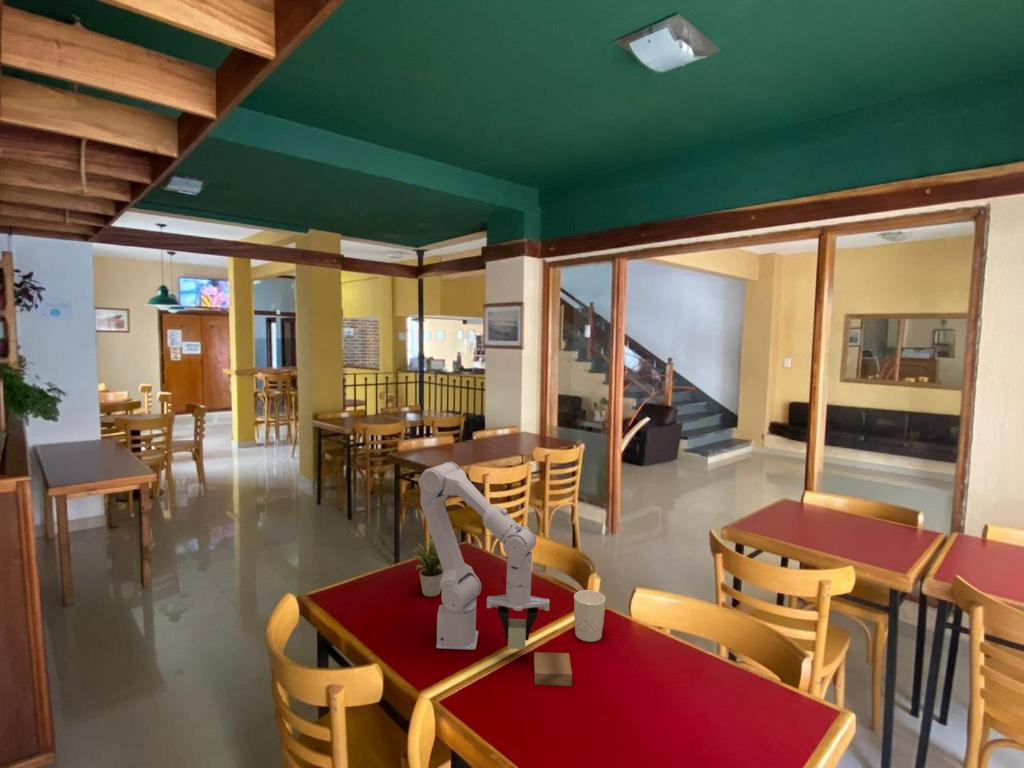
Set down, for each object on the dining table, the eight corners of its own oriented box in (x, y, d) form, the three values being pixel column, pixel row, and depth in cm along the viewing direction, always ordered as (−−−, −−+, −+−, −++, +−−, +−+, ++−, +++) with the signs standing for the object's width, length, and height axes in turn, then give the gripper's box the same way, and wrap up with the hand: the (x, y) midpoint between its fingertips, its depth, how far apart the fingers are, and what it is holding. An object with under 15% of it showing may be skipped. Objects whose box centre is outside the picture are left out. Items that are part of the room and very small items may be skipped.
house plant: (433, 610, 146) (434, 553, 145) (395, 598, 153) (396, 542, 152) (463, 590, 158) (464, 537, 157) (427, 580, 165) (427, 528, 164)
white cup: (603, 645, 131) (604, 606, 130) (571, 641, 133) (572, 602, 132) (604, 629, 139) (606, 591, 138) (574, 625, 140) (575, 588, 140)
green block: (507, 648, 123) (508, 627, 123) (508, 639, 127) (509, 618, 127) (525, 649, 123) (525, 628, 123) (525, 639, 127) (525, 619, 127)
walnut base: (534, 686, 115) (534, 673, 115) (533, 664, 123) (534, 652, 123) (571, 687, 115) (572, 674, 115) (568, 665, 123) (568, 653, 123)
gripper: (486, 587, 120) (484, 645, 121) (550, 590, 120) (548, 648, 121) (488, 574, 127) (487, 629, 128) (549, 576, 127) (547, 631, 128)
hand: (516, 637), depth 125 cm, fingers closed on green block, 4 cm apart
